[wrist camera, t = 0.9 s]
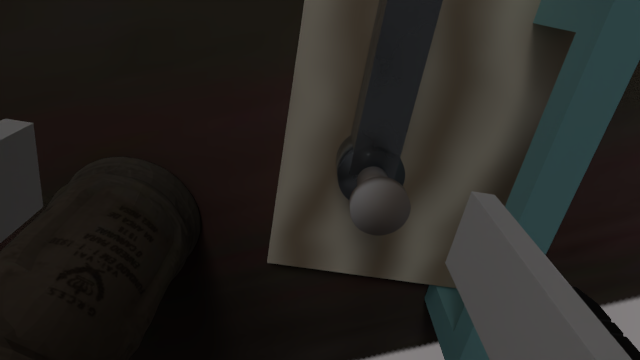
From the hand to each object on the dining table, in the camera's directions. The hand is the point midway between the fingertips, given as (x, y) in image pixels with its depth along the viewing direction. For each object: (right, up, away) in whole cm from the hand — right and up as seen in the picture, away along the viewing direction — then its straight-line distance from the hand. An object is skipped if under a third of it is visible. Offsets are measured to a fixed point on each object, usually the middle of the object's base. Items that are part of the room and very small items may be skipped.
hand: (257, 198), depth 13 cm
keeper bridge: (+15, +1, +20) cm, 25 cm away
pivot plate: (+10, +4, +19) cm, 21 cm away
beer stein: (-14, -4, +23) cm, 27 cm away
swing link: (+6, +7, +15) cm, 18 cm away
